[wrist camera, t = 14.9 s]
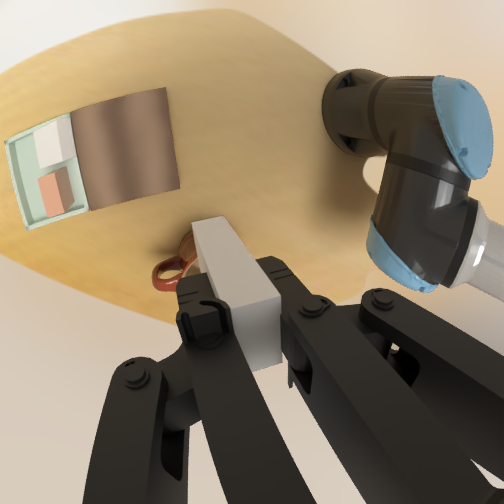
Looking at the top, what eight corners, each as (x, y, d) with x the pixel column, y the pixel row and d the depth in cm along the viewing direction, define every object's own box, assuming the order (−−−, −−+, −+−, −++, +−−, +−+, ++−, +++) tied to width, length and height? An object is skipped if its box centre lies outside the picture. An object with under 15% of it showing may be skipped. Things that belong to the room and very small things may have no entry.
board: (165, 90, 30) (165, 87, 28) (178, 183, 36) (180, 188, 34) (77, 112, 27) (70, 112, 25) (95, 204, 33) (90, 211, 31)
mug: (231, 218, 41) (254, 246, 32) (229, 270, 45) (250, 308, 36) (148, 224, 37) (147, 257, 29) (154, 279, 41) (157, 321, 32)
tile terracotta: (54, 172, 25) (37, 178, 24) (64, 212, 27) (47, 217, 27) (66, 166, 29) (51, 171, 29) (74, 201, 32) (59, 206, 31)
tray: (75, 113, 27) (69, 112, 25) (93, 205, 33) (89, 210, 31) (12, 139, 25) (4, 140, 22) (33, 224, 31) (26, 231, 29)
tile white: (70, 117, 25) (56, 120, 23) (76, 155, 27) (63, 161, 25) (46, 128, 26) (33, 132, 24) (53, 163, 28) (40, 169, 26)
